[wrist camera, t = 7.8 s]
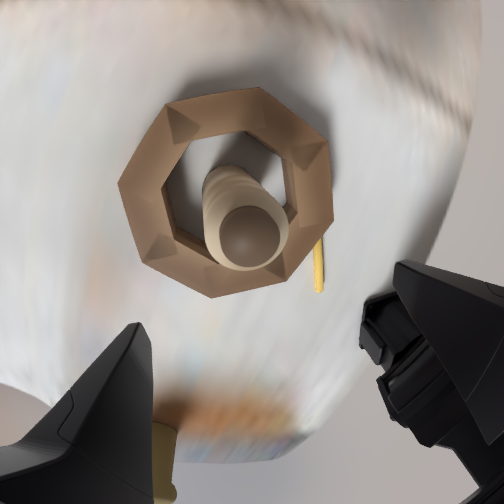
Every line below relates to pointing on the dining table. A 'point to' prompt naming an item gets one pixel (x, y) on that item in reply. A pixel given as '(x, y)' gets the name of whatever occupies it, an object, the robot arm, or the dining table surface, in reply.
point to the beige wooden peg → (241, 220)
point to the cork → (163, 463)
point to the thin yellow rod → (318, 266)
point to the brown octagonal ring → (212, 124)
